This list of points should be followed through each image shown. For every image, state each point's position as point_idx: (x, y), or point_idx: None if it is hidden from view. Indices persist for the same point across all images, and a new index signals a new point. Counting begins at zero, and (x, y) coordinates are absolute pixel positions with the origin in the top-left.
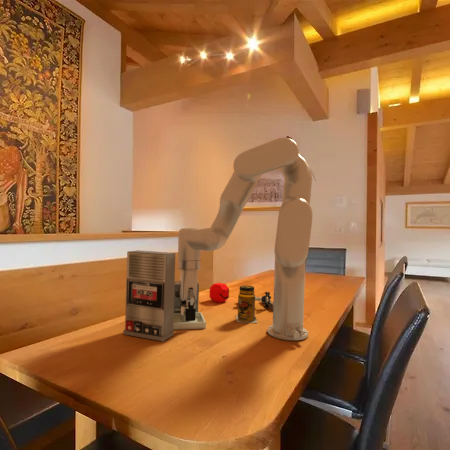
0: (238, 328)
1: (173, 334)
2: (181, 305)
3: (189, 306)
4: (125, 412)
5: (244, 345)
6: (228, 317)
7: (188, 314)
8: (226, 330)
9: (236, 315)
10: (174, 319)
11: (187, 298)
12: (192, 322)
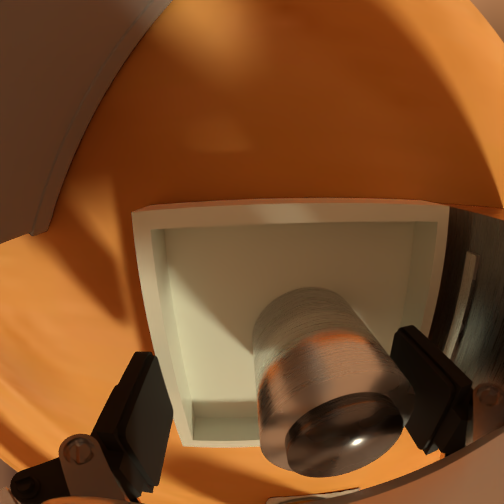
0: (197, 493)
1: (44, 230)
2: (394, 373)
3: (46, 467)
4: None
5: (48, 452)
6: (345, 478)
7: (105, 407)
8: (167, 468)
9: (355, 490)
10: (384, 237)
11: (463, 443)
12: (168, 385)
